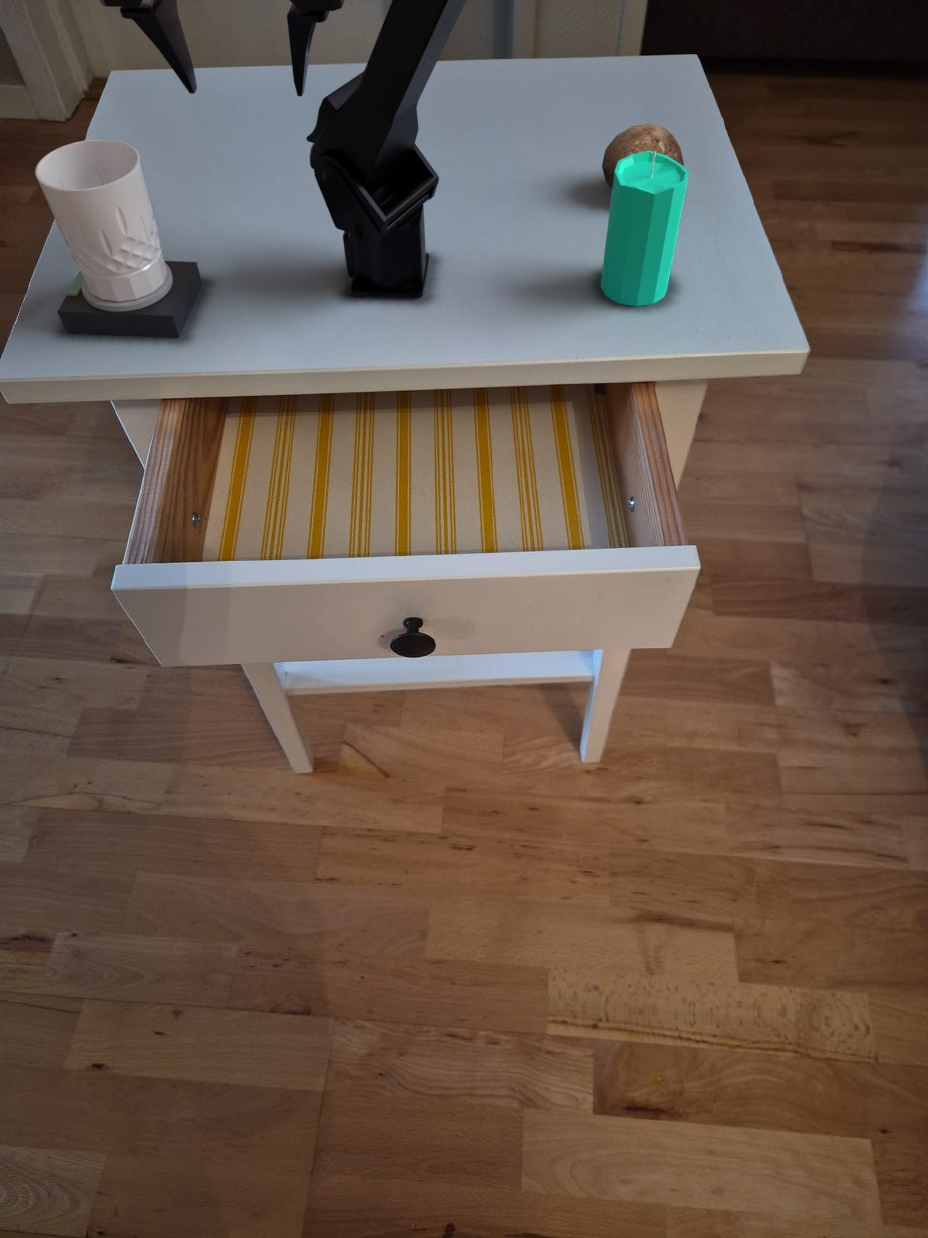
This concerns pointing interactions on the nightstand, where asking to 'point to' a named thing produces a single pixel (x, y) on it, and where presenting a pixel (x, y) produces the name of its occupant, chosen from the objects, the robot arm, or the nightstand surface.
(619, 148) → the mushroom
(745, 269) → the nightstand surface
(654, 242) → the candle
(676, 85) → the nightstand surface
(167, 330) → the scale
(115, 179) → the white cup
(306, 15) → the robot arm
